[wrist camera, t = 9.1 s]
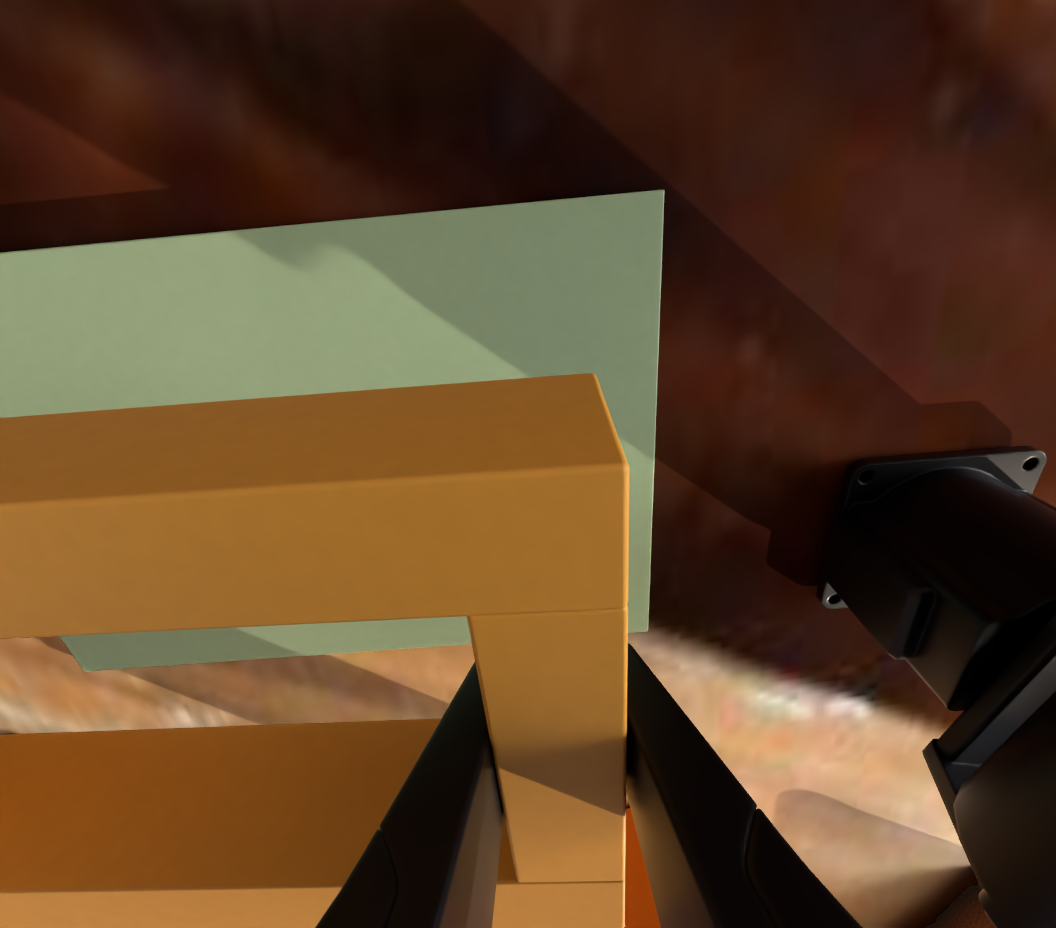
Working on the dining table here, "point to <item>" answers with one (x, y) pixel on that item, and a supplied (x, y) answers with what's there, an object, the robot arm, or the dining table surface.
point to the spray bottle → (637, 883)
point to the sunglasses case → (964, 912)
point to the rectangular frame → (310, 598)
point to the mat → (345, 348)
